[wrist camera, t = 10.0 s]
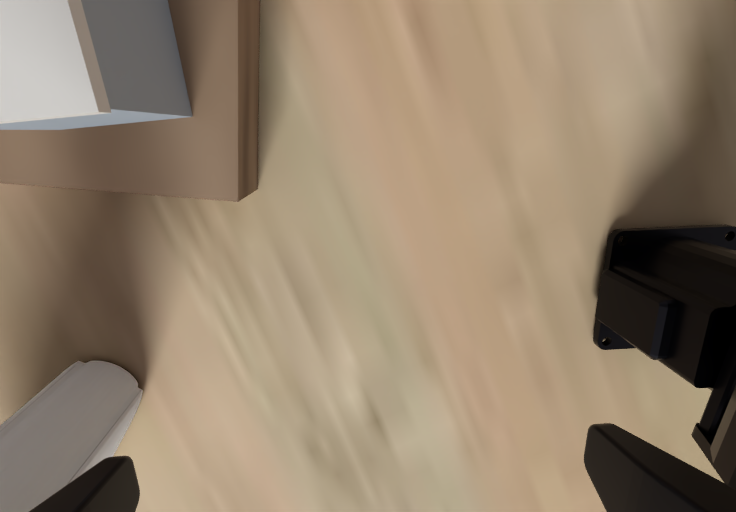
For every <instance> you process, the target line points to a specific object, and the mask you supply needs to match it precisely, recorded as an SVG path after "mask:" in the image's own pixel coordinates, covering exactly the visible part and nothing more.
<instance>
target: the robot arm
mask: <svg viewBox="0 0 736 512" xmlns="http://www.w3.org/2000/svg"><path fill="white" fill-rule="evenodd" d="M727 233H728V234H727ZM726 234H727V236H726V237H725V235H726ZM621 236H623V239H622V241H621V242H620V243H618V240H619V238H620V237H621ZM606 337H607V338H606ZM604 338H606V340H605V341H603V339H604ZM602 341H603V342H602ZM593 342H594V343H595V344H596V345H597V346H598V347H599V348H601V349H603V350H611V349H628V348H637V349H638V350H640V351H641V352H643V353H644V354H645V355H647V356H648V357H649V358H651V359H653V360H658V361H660V362H661V363H663V364H664V365H665V366H667V367H668V368H670V369H671V370H672V371H674V372H675V373H677V374H678V375H679V376H681V377H682V378H684V379H685V380H686V381H688V382H689V383H691V384H692V385H693V386H695V387H696V388H709V389H710V390H712V392H711V395H710V398H709V400H708V403H707V405H706V408H705V410H704V413H703V415H702V418H701V421H700V423H696V425H695V427H694V430H693V433H692V437H693V438H694V440H695V441H696V443H697V444H698V445H699V447H700V448H701V450H702V451H703V453H704V454H705V456H706V457H707V458H708V460H709V461H710V463H711V464H712V466H713V467H714V469H715V470H716V471H717V473H718V474H719V476H720V477H721V479H722V480H723V481H724V483H723V482H721V481H719V480H717V479H715V478H713V477H712V476H710V475H708V474H706V473H704V472H702V471H700V470H698V469H697V468H695V467H693V466H691V465H689V464H687V463H685V462H683V461H682V460H680V459H678V458H676V457H674V456H672V455H670V454H668V453H667V452H665V451H663V450H661V449H659V448H657V447H655V446H653V445H652V444H650V443H648V442H646V441H644V440H642V439H640V438H638V437H637V436H635V435H633V434H631V433H629V432H627V431H625V430H623V429H622V428H620V427H618V426H616V425H614V424H611V423H604V424H593V425H591V426H590V427H589V429H588V433H587V440H586V446H585V453H584V463H585V467H586V470H587V472H588V474H589V476H590V478H591V481H592V483H593V485H594V487H595V489H596V491H597V493H598V495H599V497H600V499H601V501H602V503H603V505H604V507H605V509H606V511H607V512H736V227H734V226H730V225H703V226H679V227H655V228H631V229H617V230H614V231H613V232H612V233H611V234H610V235H609V238H608V243H607V249H606V256H605V263H604V269H603V273H602V275H601V282H600V289H599V296H598V302H597V309H596V323H595V330H594V336H593ZM139 496H140V490H139V485H138V480H137V476H136V472H135V468H134V464H133V461H132V459H131V458H130V457H129V456H116V457H108V458H105V459H103V460H102V461H100V462H99V463H97V464H96V465H95V466H93V467H92V468H90V469H89V470H87V471H86V472H85V473H83V474H82V475H80V476H79V477H77V478H76V479H75V480H73V481H72V482H70V483H69V484H67V485H66V486H65V487H63V488H62V489H60V490H59V491H57V492H56V493H55V494H53V495H52V496H50V497H49V498H47V499H46V500H45V501H43V502H42V503H40V504H39V505H38V506H36V507H35V508H33V509H32V510H30V511H29V512H135V511H136V508H137V505H138V501H139Z"/></svg>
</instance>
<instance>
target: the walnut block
mask: <svg viewBox="0 0 736 512" xmlns="http://www.w3.org/2000/svg"><path fill="white" fill-rule="evenodd" d="M168 4H169V9H170V14H171V18H172V23H173V28H174V32H175V37H176V41H177V46H178V51H179V55H180V60H181V65H182V69H183V74H184V79H185V83H186V88H187V93H188V97H189V102H190V107H191V111H192V116H193V117H186V118H176V119H166V120H155V121H145V122H135V123H125V124H115V125H105V126H94V127H84V128H74V129H64V130H0V183H7V184H20V185H33V186H45V187H58V188H71V189H83V190H96V191H109V192H121V193H134V194H147V195H159V196H172V197H185V198H197V199H210V200H223V201H236V202H238V201H240V200H241V199H243V198H245V197H246V196H248V195H249V194H251V193H252V192H254V191H255V190H257V189H258V114H259V38H260V0H168Z"/></svg>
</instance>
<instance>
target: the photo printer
mask: <svg viewBox="0 0 736 512" xmlns="http://www.w3.org/2000/svg"><path fill="white" fill-rule="evenodd" d="M142 393H143V390H142V389H139V388H138V382H137V381H136V379H135V378H134V377H133V376H132V375H131V374H130V373H129V372H128V371H126V370H125V369H123V368H121V367H120V366H118V365H115V364H113V363H109V362H105V361H89V362H87V363H83V362H81V361H77V362H75V363H74V364H72V365H71V366H69V367H68V368H67V369H65V370H64V371H63V372H62V373H61V374H60V375H58V376H57V377H56V378H55V379H54V380H53V381H51V382H50V383H49V384H48V385H47V386H46V387H44V388H43V389H42V390H41V391H40V392H39V393H37V394H36V395H35V396H34V397H33V398H32V399H31V400H29V401H28V402H27V403H26V404H25V405H24V406H22V407H21V408H20V409H19V410H18V411H17V412H15V413H14V414H13V415H12V416H11V417H10V418H9V419H7V420H6V421H5V422H4V423H3V424H2V425H0V512H29V511H30V510H32V509H33V508H35V507H36V506H38V505H39V504H40V503H42V502H43V501H45V500H46V499H47V498H49V497H50V496H52V495H53V494H55V493H56V492H57V491H59V490H60V489H62V488H63V487H65V486H66V485H67V484H69V483H70V482H72V481H73V480H75V479H76V478H77V477H79V476H80V475H82V474H83V473H85V472H86V471H87V470H89V469H90V468H92V467H93V466H95V465H96V464H97V463H99V462H100V461H102V460H103V459H105V458H108V457H113V455H114V453H115V452H116V450H117V448H118V446H119V444H120V442H121V441H122V439H123V437H124V435H125V433H126V431H127V429H128V427H129V425H130V423H131V421H132V419H133V417H134V415H135V413H136V411H137V409H138V406H139V403H140V400H141V397H142Z"/></svg>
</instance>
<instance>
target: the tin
mask: <svg viewBox="0 0 736 512" xmlns="http://www.w3.org/2000/svg"><path fill="white" fill-rule="evenodd" d="M186 117H193V116H192V111H191V107H190V102H189V97H188V93H187V88H186V83H185V79H184V74H183V69H182V65H181V60H180V55H179V51H178V46H177V41H176V37H175V32H174V28H173V23H172V18H171V14H170V9H169V4H168V0H0V130H64V129H74V128H84V127H94V126H105V125H115V124H125V123H135V122H145V121H155V120H166V119H176V118H186Z"/></svg>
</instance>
